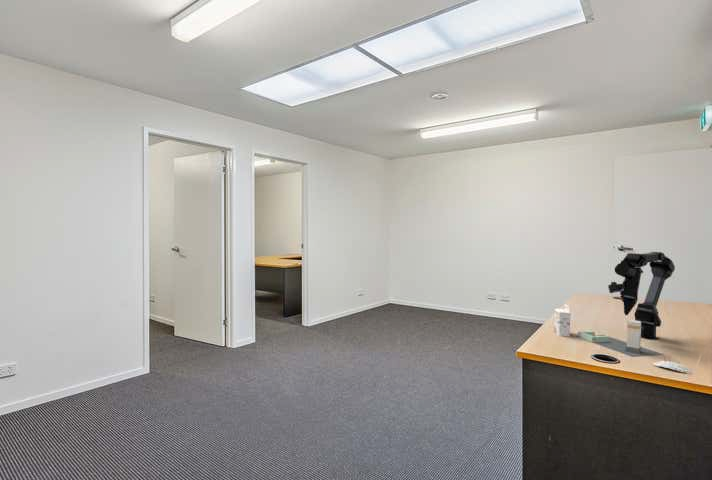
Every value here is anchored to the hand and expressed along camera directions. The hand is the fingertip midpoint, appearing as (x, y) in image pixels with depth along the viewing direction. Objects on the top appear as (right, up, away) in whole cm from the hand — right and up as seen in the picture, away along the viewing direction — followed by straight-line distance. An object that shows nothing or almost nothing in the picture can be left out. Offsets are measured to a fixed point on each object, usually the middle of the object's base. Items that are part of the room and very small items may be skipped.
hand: (625, 314), depth 177 cm
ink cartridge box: (-22, -12, +12) cm, 28 cm away
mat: (-7, -13, -5) cm, 16 cm away
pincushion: (-7, -14, -34) cm, 38 cm away
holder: (-12, -12, +3) cm, 17 cm away
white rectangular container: (-6, -13, -14) cm, 20 cm away
